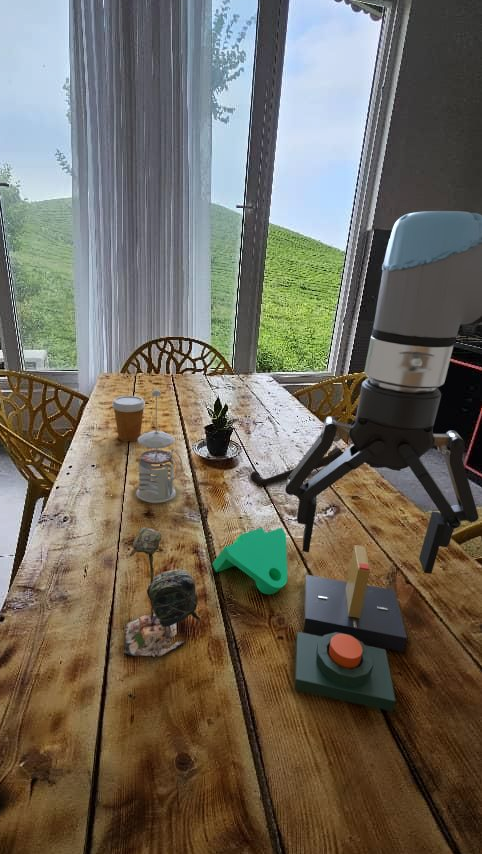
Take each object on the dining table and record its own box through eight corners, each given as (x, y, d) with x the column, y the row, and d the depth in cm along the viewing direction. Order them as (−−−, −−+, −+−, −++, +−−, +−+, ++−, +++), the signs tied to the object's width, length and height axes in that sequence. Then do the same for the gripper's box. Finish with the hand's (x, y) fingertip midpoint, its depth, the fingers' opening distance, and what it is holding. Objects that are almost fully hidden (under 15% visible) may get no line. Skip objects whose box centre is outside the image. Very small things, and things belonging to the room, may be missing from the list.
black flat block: (391, 604, 72) (395, 588, 71) (402, 654, 63) (407, 637, 62) (303, 588, 75) (306, 573, 74) (302, 634, 66) (305, 617, 65)
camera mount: (207, 560, 79) (234, 616, 74) (222, 540, 73) (251, 599, 68) (261, 541, 84) (289, 592, 79) (278, 522, 79) (309, 575, 74)
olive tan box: (345, 589, 71) (354, 543, 67) (355, 591, 70) (365, 545, 67) (348, 616, 65) (358, 568, 62) (359, 618, 65) (370, 570, 62)
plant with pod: (200, 662, 60) (207, 539, 53) (117, 659, 60) (112, 535, 53) (201, 617, 68) (207, 504, 61) (127, 614, 68) (124, 500, 60)
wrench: (248, 484, 112) (334, 455, 126) (260, 494, 108) (347, 463, 122) (249, 466, 110) (336, 439, 123) (261, 476, 106) (350, 447, 120)
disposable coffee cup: (136, 446, 127) (136, 407, 123) (107, 441, 130) (105, 402, 126) (150, 435, 136) (150, 397, 131) (122, 430, 139) (121, 393, 134)
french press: (154, 480, 109) (154, 381, 100) (192, 495, 103) (196, 391, 93) (125, 495, 101) (122, 390, 92) (164, 512, 95) (166, 401, 86)
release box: (382, 660, 62) (388, 639, 60) (392, 713, 55) (399, 690, 53) (295, 643, 64) (298, 621, 63) (293, 691, 57) (297, 668, 55)
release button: (358, 646, 59) (361, 636, 59) (361, 671, 56) (364, 661, 55) (328, 640, 60) (330, 630, 60) (329, 664, 57) (331, 654, 56)
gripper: (275, 378, 44) (255, 555, 52) (559, 407, 39) (490, 597, 47) (280, 363, 51) (262, 521, 59) (523, 386, 46) (468, 555, 54)
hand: (363, 555), depth 53 cm, fingers open, 13 cm apart
